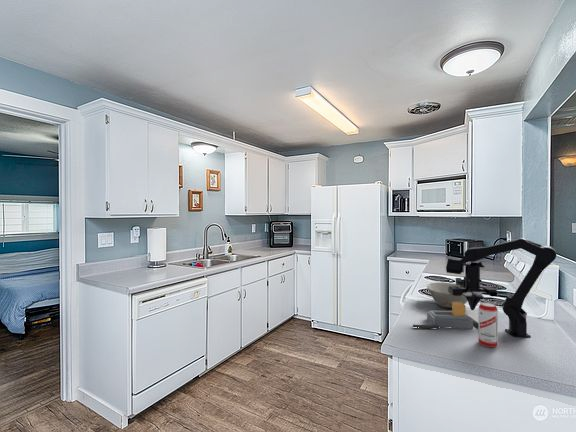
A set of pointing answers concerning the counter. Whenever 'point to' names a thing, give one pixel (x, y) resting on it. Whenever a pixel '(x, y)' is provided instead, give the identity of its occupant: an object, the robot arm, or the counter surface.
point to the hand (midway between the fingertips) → (472, 309)
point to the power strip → (449, 319)
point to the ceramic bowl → (444, 294)
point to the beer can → (488, 324)
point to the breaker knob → (458, 309)
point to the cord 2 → (474, 322)
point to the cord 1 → (426, 326)
